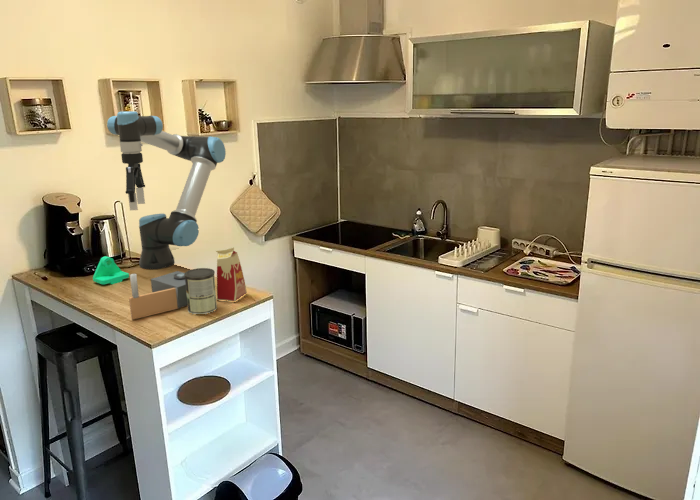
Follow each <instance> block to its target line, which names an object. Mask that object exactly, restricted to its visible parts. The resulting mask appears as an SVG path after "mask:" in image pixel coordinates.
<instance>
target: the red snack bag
mask: <svg viewBox="0 0 700 500" xmlns="http://www.w3.org/2000/svg"><path fill="white" fill-rule="evenodd" d="M215 252H216V253H217V256H216V257H217V260H216V262H217V263H216V301H217V300H228V301H236V300H237V299H239V298H240V297H241V296H243V295H244V294H246V293H247V294H248V292H247V285H246V280H245V277H244V273H243V267H242V264H241V261H240V258H239V254H238V252H237V251H235V247H230V248H228V249H227V248H226V249H219V250H215Z"/></svg>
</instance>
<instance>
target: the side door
mask: <svg viewBox="0 0 700 500" xmlns="http://www.w3.org/2000/svg"><path fill="white" fill-rule="evenodd" d="M129 279H130V287H131V294H132V295H131V296H130V297H128V302H129V310H130V318H131V320H138V319H140V318H145V317H148V316H152V315H153V316H154V315H157V314H160V313H165V312H169V311H173V310H178V309H180V308H179V299H178V289H177V287H175V288H171V289H166V290H161V291H157V292H152V291H151V292H148V293H144V294H139V286H138V278H137V273H131V274H130V273H129Z"/></svg>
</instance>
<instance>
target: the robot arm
mask: <svg viewBox="0 0 700 500" xmlns="http://www.w3.org/2000/svg"><path fill="white" fill-rule="evenodd" d="M106 124H107V125H106V126H107V129H108V131H109V133H110V134H112V135H115V136H118V137H119V145H120V146H119V147H120V148H119V149H120V152H121V154H120V155H121V163H122V164H124V165H125V164H127V166H126V167H125V172H126V173H125V174H126V175H125V176H126V177H125V180H126V182H125V188H126V189H125V195H127V197H128V205H129V206H128V207H129V211H138V210H139V209H138V205H145V204H146V201H145V191H144V188H146V184H145V181H144V177H143V173H142V169H141V164H142V163H144V157H143V153H142V151H143V149H142V147H143V145H144V144H147V145H150V146H153V147H156V148H159V149H162V150H165V151H166V152H167V153H168V154H170V155H172V156H175V157H177V158H180V159H183V160H185V161H190V162H191V163H192V165H191V168H190V170H189V173H188V176H187V178H186V181H185V183H184V187H183V189H182V192H181V194H180V198H179V200H178V203H177V206H176V208H175V209H174V210H173V211H171V212H170V214H169V217H168V216H167V214H166V213H155V214H149V215H144V216H142V217H140V218H139V220H138V228H139V236H140V243H141V253H140V258H139V267H140V268H141V269H145V270H160V269H165V268H169V267H172V266H173V265H175V263H176V262H175V257H174V255H173V253H172V250H171V248H170V246H177V247H188V246H189V247H190V246H191V245H193V243H195V242H196V240H197V239H198V236H199V234H200V233H199V231H200V230H199V229H200V228H199V225H198V223H197V222H198V220H197V218H196V214H197V212H198V208H199V206H200V203H201V201H202V197H203V194H204V191H205V189H206V186H207V183H208V180H209V178H210V174H211V172H212V171H214V170H216V169H217V165H218V164H220V163H222V162H224V160H225V159H226V154H227V153H226V152H227V151H226V146H225V144H224V141H222V139H221V138H219V137H218V136H210V135H209V136H198V135H197V136H196V135H194V136H193V135H192V136H191V135H189V136H188V135H187V136H186V135H180V134H177V133H174V134H172V133H168V132H166V131H163V128H164V124H163V121H162V120H161V118H160V117H159V116H156V115H139V112H138V111H135V110H134V111H133V110H132V111H131V110H130V111H118V112H117V114H116V115H113V116H110V117H109V118H108V119H107V122H106ZM143 143H144V144H143Z"/></svg>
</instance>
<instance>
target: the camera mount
mask: <svg viewBox="0 0 700 500" xmlns="http://www.w3.org/2000/svg"><path fill="white" fill-rule="evenodd" d="M128 278H129V279H130V273H129V272H125V271H123V270H121V268H120V267H119V266H118V265H117V263H115V260H114V258H113V257H110V256H107V255H105V256H103V257H102V256H101V257H100V259H99V262H98V264H97V266H96V269H95V271H94V274H93V276H92V281H93V282H95V283H97V284H100V285H107V284H110V285H115V284H118V283H122V282H123V280H125V279H128Z"/></svg>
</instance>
